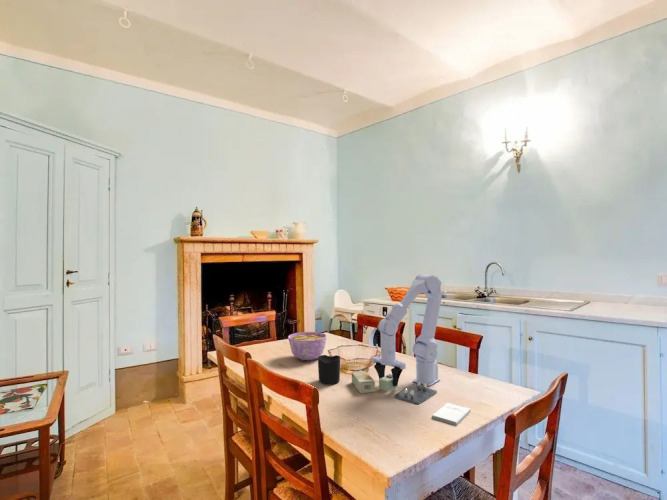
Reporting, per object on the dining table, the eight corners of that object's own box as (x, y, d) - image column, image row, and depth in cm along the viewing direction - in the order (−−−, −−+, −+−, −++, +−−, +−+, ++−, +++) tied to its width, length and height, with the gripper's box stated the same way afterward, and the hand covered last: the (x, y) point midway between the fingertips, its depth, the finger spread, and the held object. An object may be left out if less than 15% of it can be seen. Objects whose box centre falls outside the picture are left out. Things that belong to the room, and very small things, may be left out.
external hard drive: (431, 420, 116) (446, 406, 125) (456, 427, 110) (470, 413, 120) (431, 414, 116) (446, 402, 125) (456, 422, 110) (470, 408, 120)
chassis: (413, 386, 143) (413, 378, 143) (436, 392, 136) (436, 384, 136) (394, 397, 133) (394, 388, 133) (418, 404, 126) (418, 395, 126)
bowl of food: (281, 362, 177) (281, 339, 178) (297, 352, 197) (297, 331, 197) (319, 365, 172) (319, 341, 172) (332, 354, 191) (331, 332, 191)
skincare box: (359, 382, 137) (350, 372, 149) (359, 393, 137) (351, 382, 149) (375, 380, 138) (365, 370, 150) (375, 391, 138) (365, 381, 150)
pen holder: (327, 387, 144) (327, 362, 144) (313, 381, 151) (313, 357, 151) (345, 381, 150) (344, 357, 150) (331, 375, 157) (330, 353, 157)
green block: (389, 384, 146) (388, 373, 146) (397, 386, 144) (397, 375, 144) (379, 389, 141) (379, 377, 141) (387, 391, 138) (387, 379, 139)
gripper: (367, 348, 145) (368, 382, 145) (398, 354, 135) (399, 391, 135) (377, 345, 150) (378, 377, 150) (408, 350, 140) (408, 385, 140)
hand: (388, 383), depth 143 cm, fingers open, 6 cm apart
